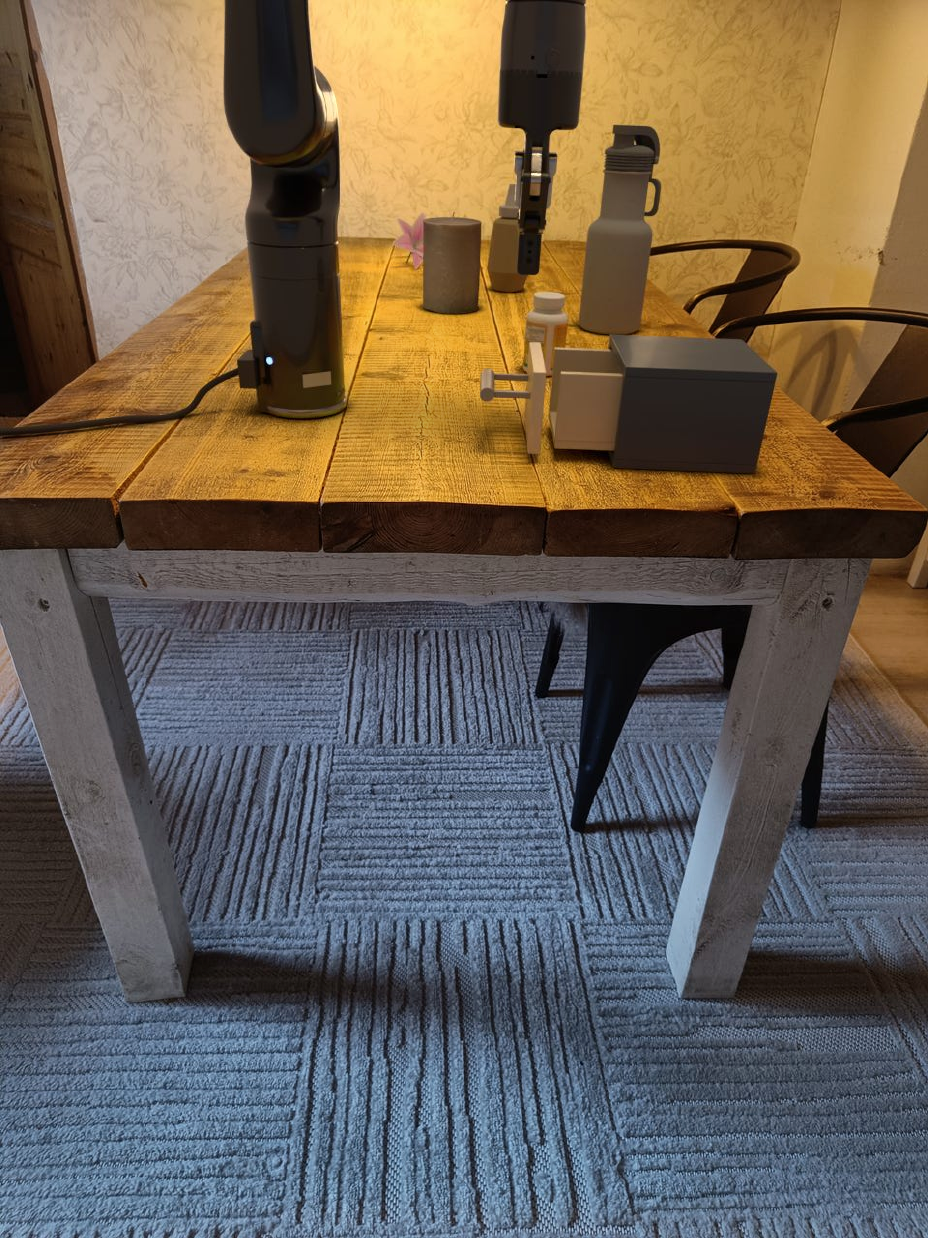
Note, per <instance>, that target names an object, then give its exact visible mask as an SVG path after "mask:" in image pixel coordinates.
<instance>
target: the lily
mask: <svg viewBox="0 0 928 1238" xmlns="http://www.w3.org/2000/svg"><path fill="white" fill-rule="evenodd" d="M424 219H427V215H426V214H425V213H424V212H421V213H420V214H419V215H418V216H417V217H416V219H415V220H414V222H413V224H412V225H411V224H409V223H408V222H407V221H405V220H403V219H401V218H396V220H397V223H398V224H399V227H400V230H401V231H402V234H401V235H399V236H397V238H395V239H394V241H393V242H392V245H393V246H394V247H397V248H399V249H403V250H405V251H408V252H409V253H408V256H407V259H406V261H405V264H408V262H409V260H410V257H411V260H412V264H413V268H414V270H418V269H419V267H420V265H421V264H422V263H423V220H424Z"/></svg>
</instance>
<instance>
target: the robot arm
mask: <svg viewBox="0 0 928 1238" xmlns="http://www.w3.org/2000/svg"><path fill="white" fill-rule="evenodd" d="M586 5H587V0H505V5H504V14H503V21H502V26H501V27H502V28H501V34H500V49H499V50H500V51H499V52H500V53H499V75H498V97H497V117H496V118H497V120H496V121H497V124H498V126H499V127H501V128H506V129H520V130H522V131H523V133H524V138H523V149H522V150H515V151H514V163H513V170H514V174H515V184H516V189H515V205H516V206H517V207H518V208H519V212H518V214H517V218H519V219H518V222H517V229H518V233H519V244H518V261H517V271H518V273H519V274H521V275H528V276H537V275H538V274H539V273H540V265H541V254H542V253H541V252H542V251H541V250H542V238H543V235H544V231H546V226H547V219H546V216H547V210H548V209H549V208H550V207H551V204H552V197H553V195H552V194H553V183H554V176H555V175H556V173H557V166H558V153H557V152H556V151H555V152H554V151H550V146H551V145H550V144H551V135H552V133H553V132H554V131H573V130H575V129H577V128H578V126H579V122H580V114H581V113H580V111H581V101H582V89H583V79H584V67H585V66H584V65H585V54H586V46H587V45H586V43H587V19H586V18H587V17H586V16H587V15H586V14H587V6H586ZM310 18H311V17H310V0H224V24H223V25H224V28H223V29H224V30H223V31H224V32H223V33H224V34H223V47H224V48H223V84H222V85H223V88H222V89H223V90H222V91H223V107H224V114H225V119H226V122H227V125H228V128H229V130H230V132H231V135H232V137H233V139H234V141H235V143H236V144H237V146H238V147H239V149H240V150H241V151H242V152H243V153H244V154H245V155H246V156H247V157H248V158H249V165H250V182H251V183H250V184H251V185H250V194H249V201H248V204H247V206H246V210H245V214H244V226H245V236H246V244H247V245H246V246H247V253H248V254H247V255H248V264H249V275H250V284H251V295H252V305H253V316H254V319H253V320H251V322H250V323H249V332H250V343H251V349H247V350H246V351H244V353H242V354H241V355H240V356H239V357H238V358H237V359H236V366H237V367H236V368H233V369H232V370H229V371H227V372H225V373H222V374H220V375H219V376H216V377H214V378H212V379H211V380H210V381H208V382H207V383H206V384H204V385H203V386H202V387H200V389H199V390H198V392H197V393H196V395H195V396H194V398H193V399H192V401H191V402H190V403H189V404H188V405H187V406H186V407H184V408H181V409H180V410H177V411H174V412H171V413H166V414H165V413H164V414H155V415H154V414H152V415H151V414H150V415H149V414H148V415H145V414H143V415H142V414H141V415H139V414H135V415H120V416H113V417H112V416H111V417H103V418H96V419H88V420H81V421H73V422H64V423H54V424H42V425H41V424H40V425H29V426H16V427H15V426H14V427H13V426H12V427H0V436H1V437H2V436H3V437H4V436H21V435H22V436H23V435H33V434H47V433H57V432H65V431H74V430H82V429H90V428H97V427H99V428H100V427H105V426H113V425H120V424H133V423H134V424H137V423H138V424H139V423H140V424H141V423H158V422H165V421H171V420H172V421H173V420H177V419H181V418H183V417H186V416H188V415H190V414H191V413H193V412H194V411H195V410H196V409H197V408H198V406H199V405H200V403H201V402H202V400H203V399H204V397H205V396H206V395H207V393H209V392H210V391H211V390H212V389H213V388H215V387H217V386H218V385H220V384H222V383H225V382H226V381H229V380H231V379H233V378H235V377H237V376H238V382H239V389H248V390H249V389H252V390H256V400H257V412H258V413H266V414H270V415H274V416H277V417H283V418H290V419H312V418H322V417H327V416H331V415H335V414H337V413H340V412H341V411H343V410H345V408H346V407H347V395H346V382H345V360H344V356H345V355H344V339H343V334H344V333H343V316H342V315H343V314H342V294H341V292H342V291H341V274H340V272H341V269H340V252H339V251H340V249H339V248H340V247H339V217H340V211H341V201H342V199H341V198H342V197H341V196H342V191H341V190H342V189H341V188H342V187H341V183H342V182H341V147H340V145H341V143H340V140H341V139H340V122H339V121H340V120H339V112H338V111H339V110H338V105H337V101H336V100H337V99H336V96H335V93H334V90H333V88H332V86H331V84H330V82H329V81H328V79H327V77H326V76H325V75H324V73H322V72H321V70H320V68H318V67H317V66H315V63H314V54H313V53H314V52H313V44H312V33H311V32H312V31H311V19H310Z"/></svg>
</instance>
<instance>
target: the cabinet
mask: <svg viewBox="0 0 928 1238" xmlns="http://www.w3.org/2000/svg"><path fill="white" fill-rule="evenodd" d="M607 349H609V350H612V351H613V353H614V355H615V357H616V359H617V361H618V363H619V365H620V367H621V369H622V371H623V373H624V376H623V384H622V392H621V399H620V407H619V415H618V422H617V430H616V438H615V446H614V450H606V451H607V453H608V456H609V460H610V463H611V465H612V468H613V469H621V470H622V469H623V470H624V469H625V470H626V469H627V470H651V471H674V472H676V471H678V472H701V473H723V474H724V473H725V474H727V473H728V474H747V475H749V474H750V475H753V474H755V473H756V470H757V465H758V462H759V458H760V454H761V453H760V452H761V449H762V444H763V439H764V436H765V431H766V427H767V422H768V418H769V413H770V409H771V404H772V401H773V396H774V391H775V387H776V382H777V377H778V372H777V371H776V370H775V369H774V368H773V367H772V366H771V365H770V364H769V363H768V362H767V361H766V360H765V359H763V358H762V357H761V356H760V355H759V354H758V353H757V352H756V351H755V350H754V349H753V348H752V347H751V346H750V345H749V344H747V343H746V342H745V340H743V339H739V338H714V337H713V338H712V337H690V336H689V337H687V336H686V337H685V336H662V335H661V336H659V335H634V334H631V335H630V334H624V335H609V338H608V346H607Z"/></svg>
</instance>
